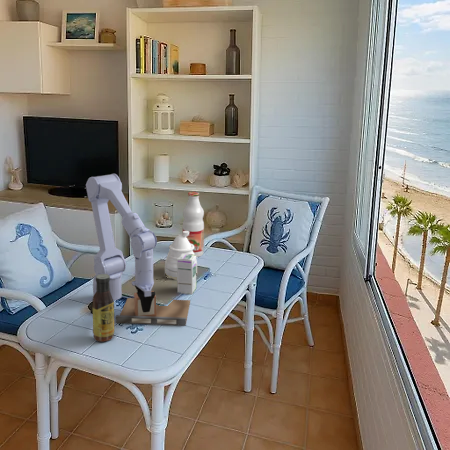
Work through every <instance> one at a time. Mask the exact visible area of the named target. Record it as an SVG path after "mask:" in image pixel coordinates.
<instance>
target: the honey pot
mask: <svg viewBox="0 0 450 450" xmlns="http://www.w3.org/2000/svg"><path fill="white" fill-rule="evenodd" d="M188 235H189V231H183V230H182V234H181V233H180V234H177V236H176V237H175V238H174V240H173V241H172V243H171V244H169V246H168V249H169V250H168V253H167V256H166V259H165V261H164V274H165V273H166V274H167V275H169V276H172V277H177V259H178V258H179V257H180V256H181V254H193V255H195V254H194V252H193V249H194V245H193V244H191V243H189V241H188V239H187V238H186V237H187V236H188ZM196 273H197V274H198V260H196Z"/></svg>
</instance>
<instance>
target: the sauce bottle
mask: <svg viewBox="0 0 450 450" xmlns="http://www.w3.org/2000/svg"><path fill="white" fill-rule="evenodd" d="M109 281H110V276H109V275H107V274H100V275H97V276H96V283H97V285H96V286H97V288H96V290H97V291H96V293H95V295H94V296H92V334H93V339H94V340H95V341H97V342H101V343H102V342H108V341H111V340H112V339H114V336H115V300H113V298H112V295H111V292H110V287H109Z"/></svg>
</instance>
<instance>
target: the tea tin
mask: <svg viewBox="0 0 450 450" xmlns="http://www.w3.org/2000/svg"><path fill="white" fill-rule="evenodd" d="M151 292H154V290H151ZM133 298H134V310H135V315H136V316H156V299H157V296H156V294H155V297H154V298H153V300H152V304H151V308H150V312H143V310H142V306H141V301H140V299H139V297H138V295H137V291H136V292H134V293H133Z"/></svg>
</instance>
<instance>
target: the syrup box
mask: <svg viewBox="0 0 450 450" xmlns="http://www.w3.org/2000/svg"><path fill="white" fill-rule="evenodd" d="M196 261H197V257H196V255H193V254H181V256H180V257H179V258H178V259H177V280H176V281H177V284H176V285H177V293H178V292H181V293H180V294H182V295H183V294H185V295H190V296H191V295H194V293H195V292H196V290H197V276H196Z"/></svg>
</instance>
